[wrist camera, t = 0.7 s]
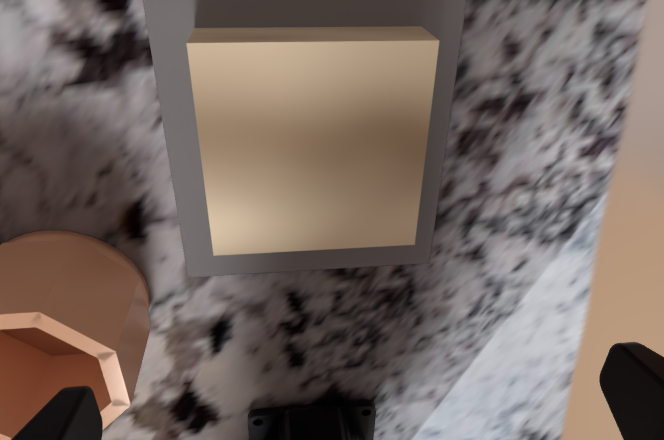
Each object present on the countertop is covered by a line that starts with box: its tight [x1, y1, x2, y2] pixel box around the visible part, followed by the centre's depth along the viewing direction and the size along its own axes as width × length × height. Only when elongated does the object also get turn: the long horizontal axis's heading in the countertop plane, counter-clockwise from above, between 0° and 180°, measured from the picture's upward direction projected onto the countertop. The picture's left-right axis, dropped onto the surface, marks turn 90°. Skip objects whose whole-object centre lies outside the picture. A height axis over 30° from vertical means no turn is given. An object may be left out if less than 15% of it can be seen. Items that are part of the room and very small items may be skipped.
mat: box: [143, 0, 467, 277], centre depth 18 cm, size 12×10×1 cm
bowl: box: [0, 230, 151, 440], centre depth 19 cm, size 6×6×5 cm
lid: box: [187, 26, 439, 256], centre depth 17 cm, size 7×7×2 cm
